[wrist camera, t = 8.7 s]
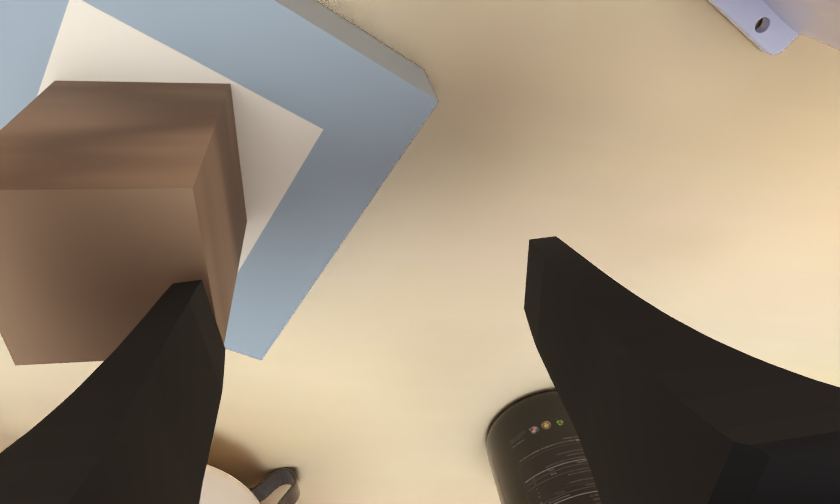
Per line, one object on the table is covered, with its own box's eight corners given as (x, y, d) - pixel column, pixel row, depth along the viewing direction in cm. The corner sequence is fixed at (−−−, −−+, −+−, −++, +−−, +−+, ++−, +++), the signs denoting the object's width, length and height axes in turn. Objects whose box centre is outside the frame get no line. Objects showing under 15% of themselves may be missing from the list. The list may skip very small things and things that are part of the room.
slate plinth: (423, 69, 20) (438, 101, 17) (266, 309, 25) (261, 361, 22) (36, -178, 15) (-21, -182, 12) (-63, 186, 20) (-117, 235, 17)
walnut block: (230, 83, 16) (192, 188, 11) (247, 221, 19) (222, 354, 14) (54, 80, 15) (-66, 190, 11) (97, 223, 18) (15, 365, 13)
